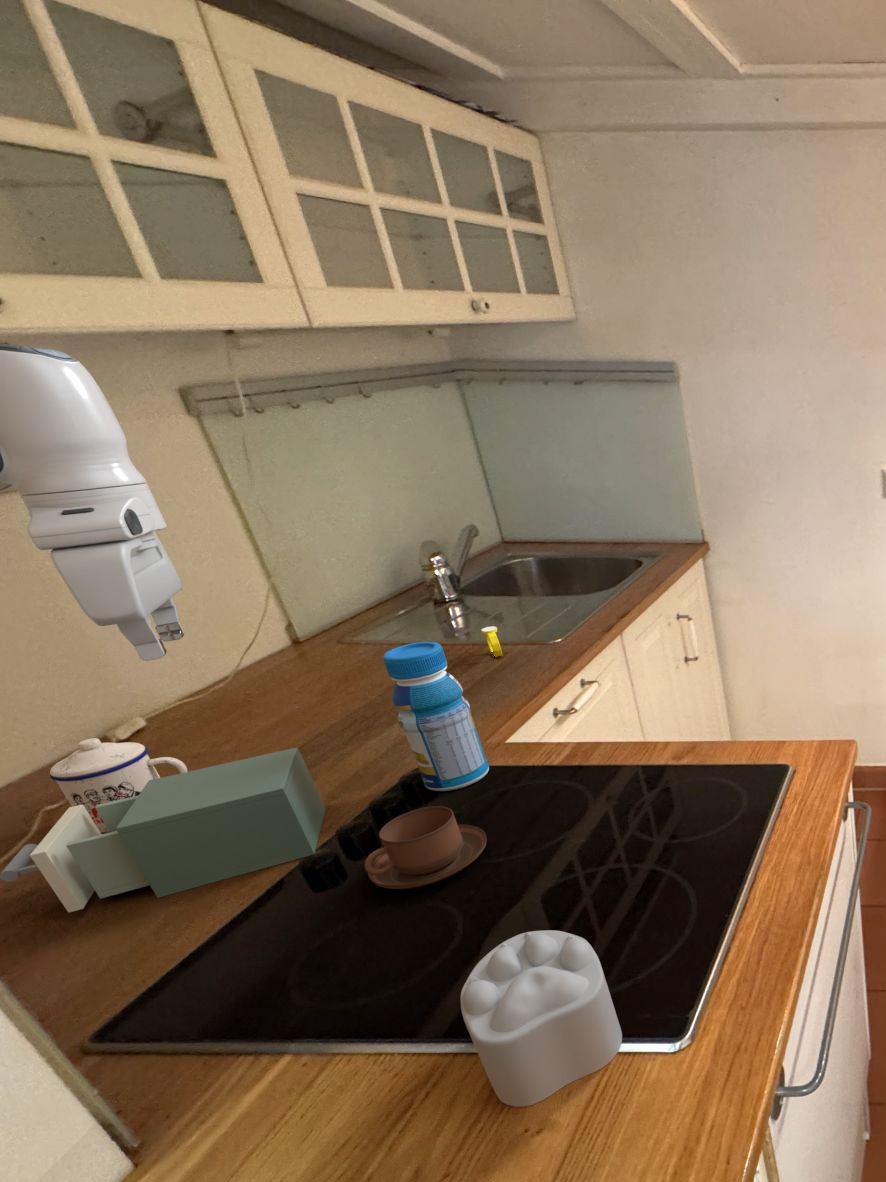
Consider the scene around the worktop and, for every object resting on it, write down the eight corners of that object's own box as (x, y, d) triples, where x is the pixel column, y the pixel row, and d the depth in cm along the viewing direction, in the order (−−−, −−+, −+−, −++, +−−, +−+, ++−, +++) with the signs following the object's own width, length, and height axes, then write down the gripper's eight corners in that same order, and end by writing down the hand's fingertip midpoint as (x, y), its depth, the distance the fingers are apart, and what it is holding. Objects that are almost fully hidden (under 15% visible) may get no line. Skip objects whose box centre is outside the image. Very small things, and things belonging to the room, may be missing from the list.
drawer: (14, 927, 83) (-28, 869, 80) (54, 873, 92) (18, 818, 88) (225, 869, 91) (195, 814, 88) (244, 825, 100) (217, 773, 97)
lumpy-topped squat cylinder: (501, 1122, 61) (467, 1044, 57) (472, 1022, 70) (442, 949, 66) (634, 1050, 66) (611, 975, 63) (591, 967, 76) (569, 897, 72)
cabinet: (157, 898, 88) (115, 828, 84) (185, 844, 98) (148, 780, 94) (314, 854, 95) (282, 788, 91) (326, 808, 105) (297, 747, 101)
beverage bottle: (472, 792, 107) (425, 659, 99) (411, 795, 107) (358, 663, 99) (502, 762, 115) (460, 637, 106) (444, 765, 115) (398, 640, 106)
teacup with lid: (72, 843, 99) (22, 765, 94) (98, 810, 106) (53, 736, 101) (194, 814, 104) (152, 739, 99) (211, 785, 112) (173, 714, 107)
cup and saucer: (438, 903, 85) (420, 858, 83) (347, 894, 87) (326, 850, 85) (512, 840, 96) (498, 798, 93) (429, 834, 98) (413, 793, 96)
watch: (486, 653, 158) (478, 626, 155) (501, 650, 159) (493, 623, 157) (492, 661, 154) (483, 633, 151) (508, 658, 155) (499, 630, 153)
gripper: (87, 515, 84) (148, 635, 89) (19, 533, 68) (98, 678, 73) (164, 506, 87) (219, 623, 92) (117, 522, 71) (186, 662, 76)
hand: (165, 648), depth 83 cm, fingers open, 8 cm apart
